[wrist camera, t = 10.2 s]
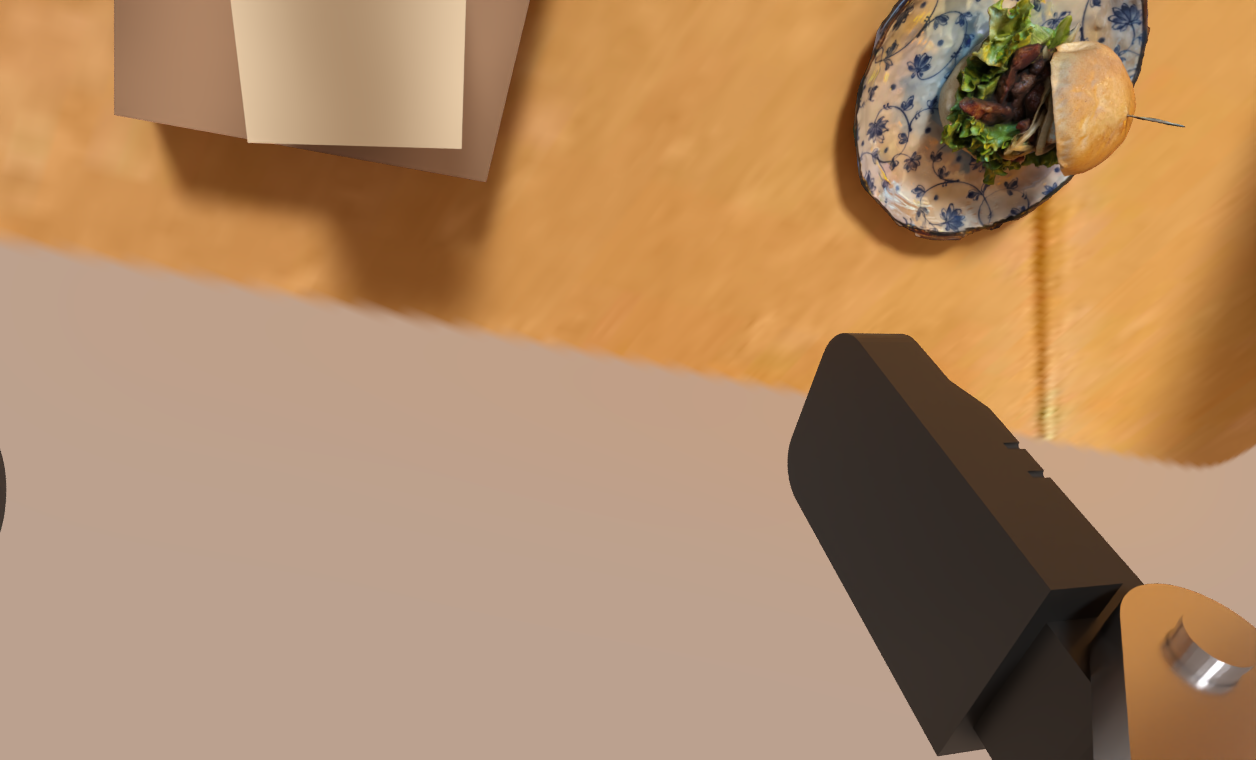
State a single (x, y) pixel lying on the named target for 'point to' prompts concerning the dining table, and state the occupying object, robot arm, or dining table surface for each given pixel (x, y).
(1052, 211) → the dining table surface
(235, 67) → the walnut block
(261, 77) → the oak block
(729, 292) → the dining table surface
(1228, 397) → the dining table surface
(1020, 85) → the burger
